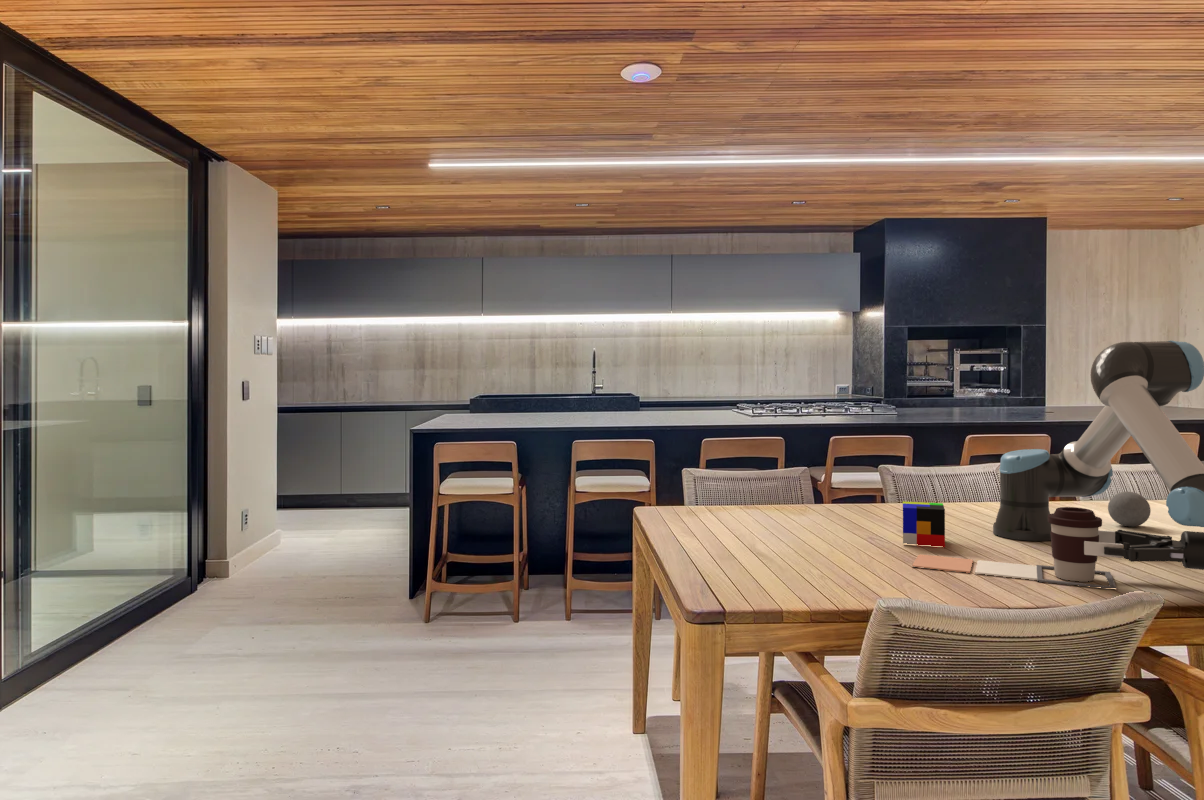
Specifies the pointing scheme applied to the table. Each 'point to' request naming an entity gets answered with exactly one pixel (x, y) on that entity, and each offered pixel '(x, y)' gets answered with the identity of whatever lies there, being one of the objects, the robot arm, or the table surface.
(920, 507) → the puzzle toy
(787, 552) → the table surface
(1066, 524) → the coffee cup
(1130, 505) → the decorative ball
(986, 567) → the game board
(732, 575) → the table surface
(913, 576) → the table surface
